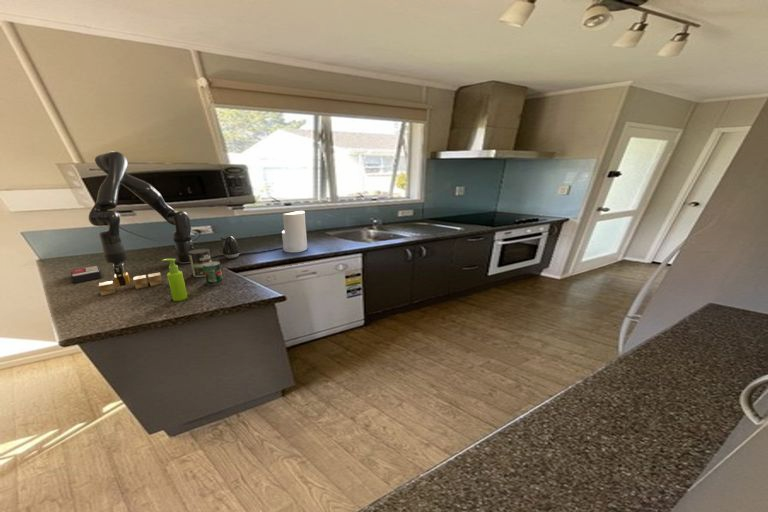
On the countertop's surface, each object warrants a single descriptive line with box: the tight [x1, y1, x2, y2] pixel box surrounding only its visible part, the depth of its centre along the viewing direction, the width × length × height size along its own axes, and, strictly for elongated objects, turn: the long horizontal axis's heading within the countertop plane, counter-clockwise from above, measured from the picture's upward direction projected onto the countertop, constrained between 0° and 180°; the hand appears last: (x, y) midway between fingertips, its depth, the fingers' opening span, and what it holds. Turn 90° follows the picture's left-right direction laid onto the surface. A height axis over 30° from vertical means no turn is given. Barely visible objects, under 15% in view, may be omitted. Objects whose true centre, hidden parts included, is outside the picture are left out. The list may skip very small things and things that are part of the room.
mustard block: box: [113, 272, 131, 288], centre depth 144 cm, size 5×5×5 cm
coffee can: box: [188, 247, 212, 278], centre depth 165 cm, size 10×10×14 cm
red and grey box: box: [70, 265, 103, 284], centre depth 159 cm, size 11×4×15 cm
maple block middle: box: [132, 274, 149, 290], centre depth 149 cm, size 5×5×5 cm
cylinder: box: [281, 210, 308, 253], centre depth 212 cm, size 17×17×28 cm
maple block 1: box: [97, 280, 116, 296], centre depth 141 cm, size 5×5×5 cm
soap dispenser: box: [161, 258, 189, 302], centre depth 134 cm, size 6×7×20 cm
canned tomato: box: [203, 260, 224, 286], centre depth 154 cm, size 8×8×11 cm
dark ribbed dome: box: [220, 235, 241, 260], centre depth 193 cm, size 10×10×15 cm
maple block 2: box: [147, 272, 163, 287], centre depth 153 cm, size 5×5×5 cm
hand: (123, 283), depth 145 cm, fingers closed on mustard block, 5 cm apart
